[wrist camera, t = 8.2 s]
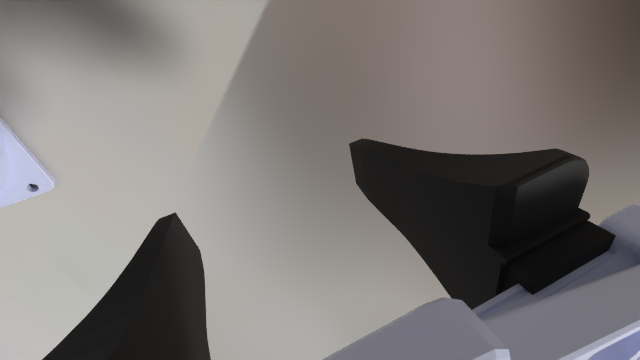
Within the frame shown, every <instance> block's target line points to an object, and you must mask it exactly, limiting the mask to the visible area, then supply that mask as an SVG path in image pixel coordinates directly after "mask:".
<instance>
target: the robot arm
mask: <svg viewBox="0 0 640 360" xmlns="http://www.w3.org/2000/svg"><path fill="white" fill-rule="evenodd" d="M349 146H350V150H351V157H352V162H353V168H354V173H355V178H356V183H357V185H358V186H359V188H360V189H361V190H362V192H363V193H364V195H365V196H366V197H367V198H368V200H369V201H370V202H371V203H372V204H373V205H374V206H375V207H376V208H377V209H378V210H379V211H380V212H381V213H382V214H383V215H384V216H385V217H386V218H387V219H388V220H389V221H390V222H391V223H392V224H393V225H394V226H395V227H396V228H397V229H398V230H399V231H400V232H401V233H402V234H403V235H404V236H405V237H406V239H407V240H408V241H409V242H410V243H411V245H412V246H413V247H414V248H415V250H416V251H417V252H418V253H419V255H420V256H421V257H422V258H423V260H424V261H425V262H426V264H427V265H428V266H429V268H430V269H431V270H432V272H433V273H434V274H435V275H436V277H437V278H438V280H439V281H440V283H441V284H442V285H443V287H444V288H445V290H446V291H447V292H448V294H449V295H450V297H451V298H440V299H437V300H434V301H432V302H429V303H426V304H423V305H421V306H420V307H418V308H416V309H414V310H412V311H410V312H409V313H407V314H405V315H403V316H401V317H399V318H398V319H396V320H394V321H392V322H390V323H389V324H387V325H385V326H383V327H381V328H379V329H378V330H376V331H374V332H372V333H370V334H368V335H367V336H365V337H363V338H361V339H359V340H357V341H356V342H354V343H352V344H350V345H348V346H347V347H345V348H343V349H341V350H339V351H337V352H335V353H334V354H332V355H330V356H328V357H326V358H324V359H323V360H640V206H638V205H635V204H632V205H628V206H626V207H625V208H623V209H621V210H619V211H617V212H616V213H614V214H612V215H610V216H609V217H607V218H606V219H604V220H603V221H602V222H601V223H600V225H599V226H597V225H595V224H593V223H591V222H590V221H587V220H588V219H589V218H590V214H589V213H588V212H586V211H584V210H582V209H580V208H578V206H579V204H580V201H581V198H582V196H583V193H584V190H585V187H586V184H587V181H588V177H589V167H588V164H587V163H586V161H585V160H584V159H583V158H581V157H578V156H575V155H573V154H570V153H568V152H565V151H563V150H559V149H549V150H540V151H532V152H523V153H510V154H492V155H491V154H490V155H465V154H448V153H437V152H429V151H423V150H416V149H411V148H406V147H401V146H396V145H391V144H387V143H383V142H378V141H374V140H369V139H360V140H357V141H355V142H352V143H350V144H349ZM29 184H35V185H37V186H38V188H32V187H31V186H30V185H29ZM54 186H55V179H54V178H53V177H52V176H51V174H50V173H49V172H48V171H47V170H46V169H45V168H44V167H43V165H42V164H41V163H40V162H39V161H38V160H37V159H36V157H35V156H34V155H33V154H32V153H31V152H30V151H29V149H28V148H27V147H26V146H25V145H24V144H23V143H22V141H21V140H20V139H19V138H18V137H17V136H16V135H15V134H14V132H13V131H12V130H11V129H10V128H9V127H8V126H7V124H6V123H5V122H4V121H3V120H2V119H1V118H0V208H2V207H5V206H7V205H10V204H13V203H16V202H19V201H22V200H25V199H27V198H30V197H33V196H36V195H39V194H42V193H44V192H47V191H50V190H51V189H52V188H53V187H54ZM205 306H206V305H205V278H204V269H203V263H202V258H201V253H200V250H199V248H198V246H197V245H196V244H195V242H194V240H193V239H192V237H191V236H190V234H189V233H188V231H187V229H186V228H185V226H184V225H183V223H182V222H181V220H180V219H179V217H178V216H177V214H176V213H173V214H171V215H168V216H165V217H163V218H160V219H159V220H158V221H157V222H156V223H155V225H154V226H153V228H152V229H151V231H150V232H149V234H148V235H147V237H146V238H145V240H144V242H143V243H142V245H141V246H140V248H139V249H138V251H137V252H136V254H135V255H134V257H133V258H132V260H131V261H130V262H129V264H128V265H127V266H126V268H125V269H124V271H123V272H122V273H121V275H120V276H119V277H118V279H117V280H116V282H115V283H114V284H113V285H112V287H111V288H110V289H109V290H108V292H107V293H106V294H105V295H104V297H103V298H102V299H101V300H100V301H99V302H98V303H97V305H96V306H95V307H94V308H93V309H92V310H91V311H90V313H89V314H88V315H87V316H86V317H85V318H84V319H83V320H82V321H81V322H80V323H79V324H78V325H77V326H76V327H75V328H74V329H73V330H72V331H71V332H70V333H69V334H68V335H67V336H66V337H65V338H64V339H63V340H62V341H61V342H60V343H59V344H58V345H57V346H56V347H55V348H54V349H53V350H52V351H51V352H50V353H49V354H48V355H47V356H46V357H44V358H43V359H42V360H210V353H209V347H208V341H207V329H206V307H205Z"/></svg>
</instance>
